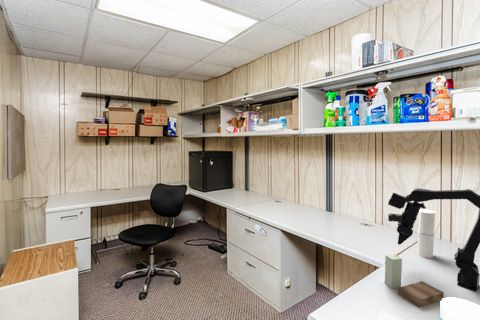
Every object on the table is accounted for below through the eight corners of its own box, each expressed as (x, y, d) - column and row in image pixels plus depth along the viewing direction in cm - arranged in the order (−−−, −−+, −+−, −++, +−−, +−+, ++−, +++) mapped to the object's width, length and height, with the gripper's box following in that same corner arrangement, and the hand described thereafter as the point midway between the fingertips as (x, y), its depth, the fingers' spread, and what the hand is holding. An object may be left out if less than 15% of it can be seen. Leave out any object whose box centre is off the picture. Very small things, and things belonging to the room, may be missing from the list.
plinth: (421, 287, 115) (421, 281, 115) (443, 299, 106) (443, 292, 106) (398, 294, 110) (398, 287, 110) (419, 307, 102) (419, 299, 101)
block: (394, 281, 120) (395, 254, 119) (400, 287, 115) (402, 259, 114) (384, 282, 119) (385, 254, 118) (391, 288, 115) (392, 259, 114)
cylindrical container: (427, 258, 142) (429, 213, 140) (414, 253, 148) (416, 210, 146) (435, 256, 145) (438, 212, 143) (422, 251, 151) (424, 208, 149)
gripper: (393, 203, 140) (383, 230, 142) (391, 209, 124) (380, 239, 127) (417, 212, 134) (406, 239, 137) (418, 219, 118) (405, 250, 121)
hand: (399, 241), depth 130 cm, fingers open, 9 cm apart
